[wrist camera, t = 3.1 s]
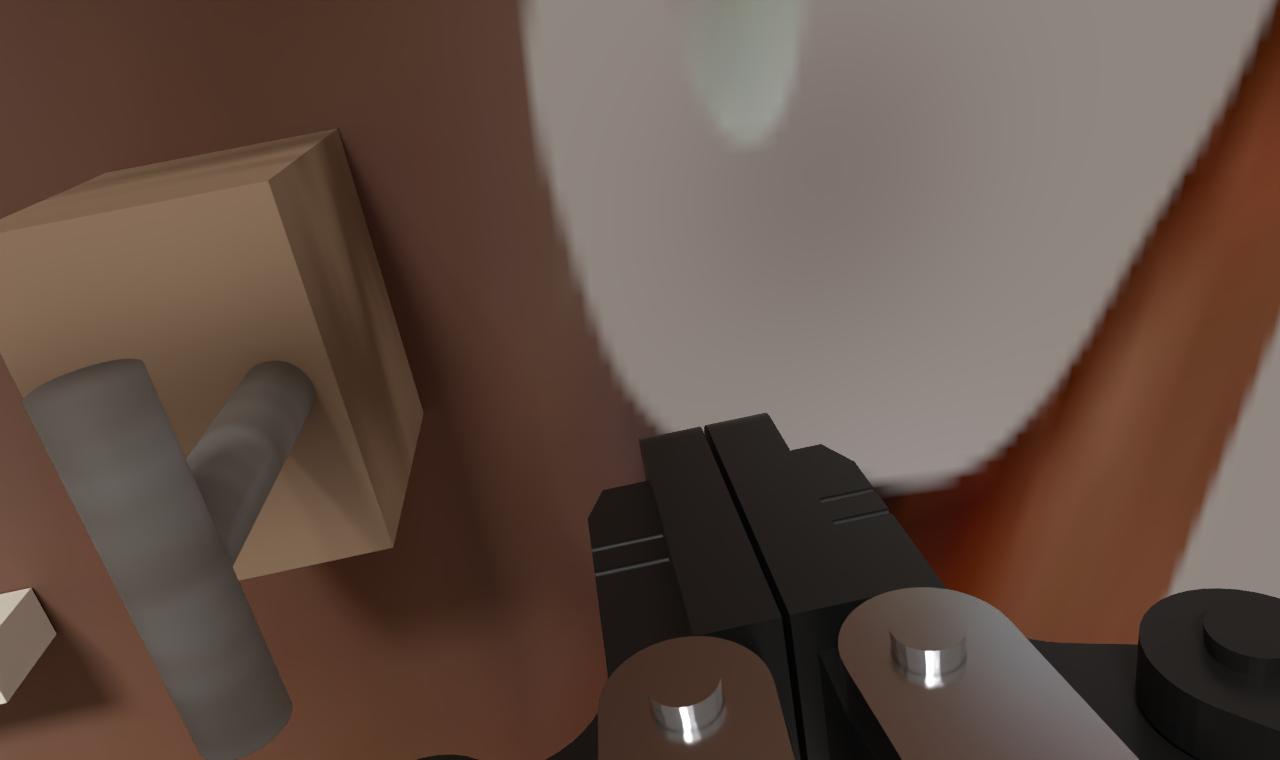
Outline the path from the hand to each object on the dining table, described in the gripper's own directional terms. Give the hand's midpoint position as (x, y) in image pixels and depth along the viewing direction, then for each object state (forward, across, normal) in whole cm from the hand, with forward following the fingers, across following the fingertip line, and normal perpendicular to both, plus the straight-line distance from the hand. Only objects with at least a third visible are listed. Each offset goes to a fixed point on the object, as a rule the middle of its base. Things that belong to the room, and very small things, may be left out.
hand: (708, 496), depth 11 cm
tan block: (+12, +8, 0) cm, 14 cm away
